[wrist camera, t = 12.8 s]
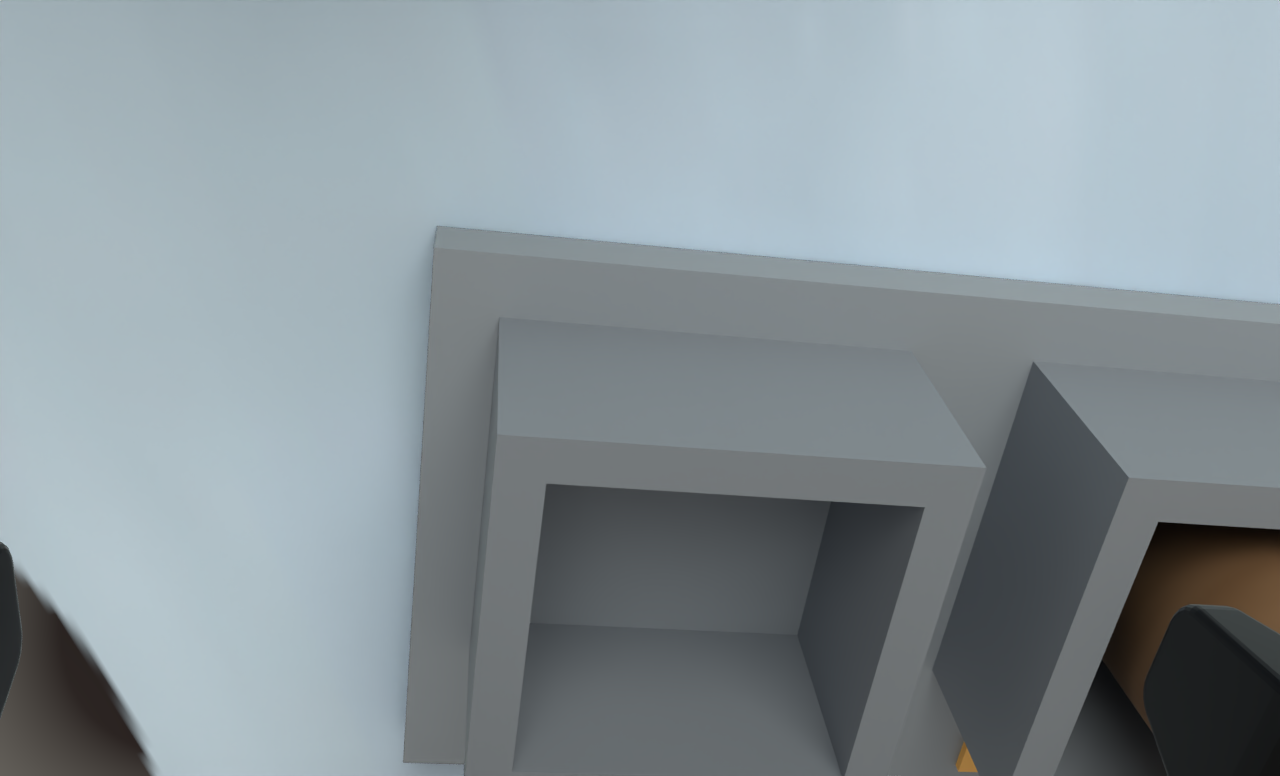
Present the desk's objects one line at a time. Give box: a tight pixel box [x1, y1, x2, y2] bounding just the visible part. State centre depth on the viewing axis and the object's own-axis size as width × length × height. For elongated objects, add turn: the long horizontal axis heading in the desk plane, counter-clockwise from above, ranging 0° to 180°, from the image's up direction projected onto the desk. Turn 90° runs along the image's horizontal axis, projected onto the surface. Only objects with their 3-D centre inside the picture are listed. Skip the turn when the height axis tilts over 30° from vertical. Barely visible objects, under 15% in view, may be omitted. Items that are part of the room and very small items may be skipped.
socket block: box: [403, 226, 1280, 776], centre depth 23 cm, size 22×12×5 cm, turn 82°
